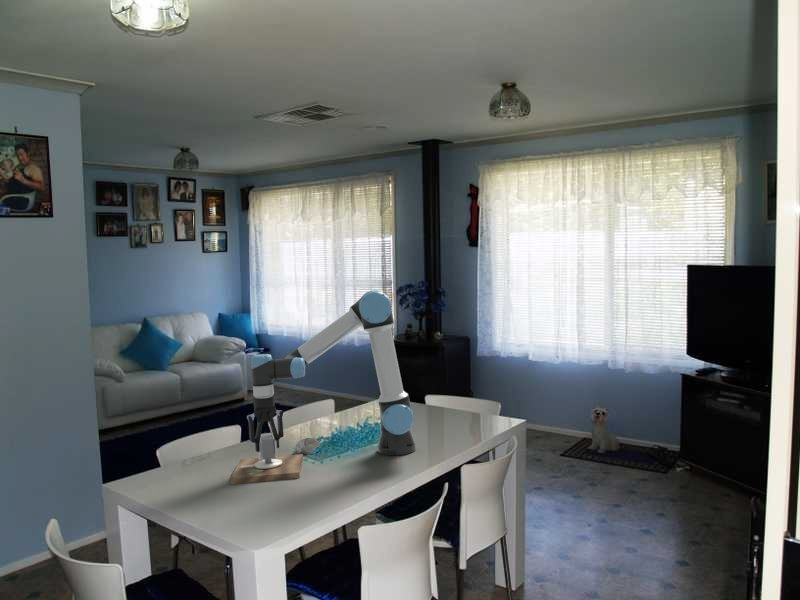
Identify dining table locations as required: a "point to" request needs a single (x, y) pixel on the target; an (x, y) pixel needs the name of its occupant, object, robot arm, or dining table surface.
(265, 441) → the tuning knob
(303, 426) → the dining table surface
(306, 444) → the fossilized seashell
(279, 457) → the dial board
